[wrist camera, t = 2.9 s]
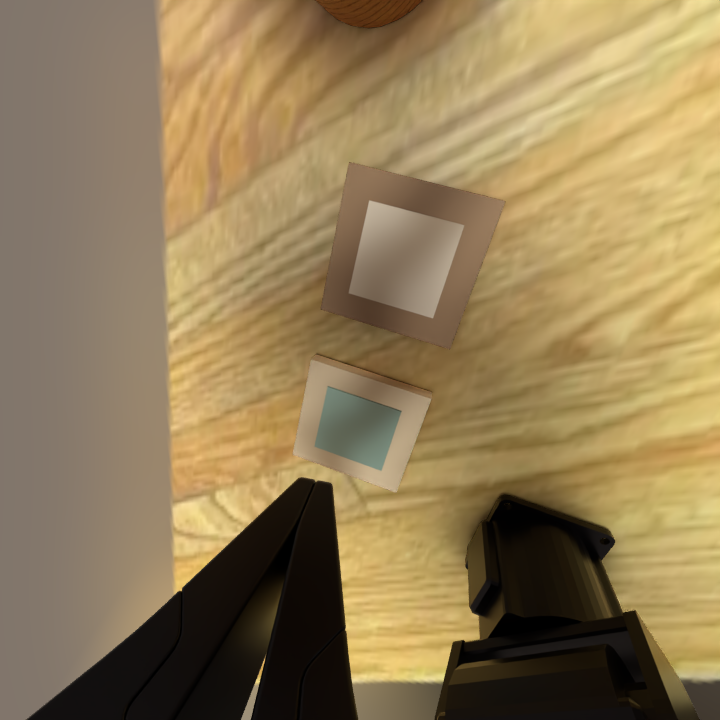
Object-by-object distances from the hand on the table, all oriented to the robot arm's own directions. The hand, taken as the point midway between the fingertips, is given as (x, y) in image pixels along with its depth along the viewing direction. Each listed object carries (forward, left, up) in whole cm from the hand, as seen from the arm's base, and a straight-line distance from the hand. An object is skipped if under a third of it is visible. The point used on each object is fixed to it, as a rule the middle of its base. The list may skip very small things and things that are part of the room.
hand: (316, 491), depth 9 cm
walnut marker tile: (+1, -4, -12) cm, 13 cm away
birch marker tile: (+1, +6, -12) cm, 13 cm away
